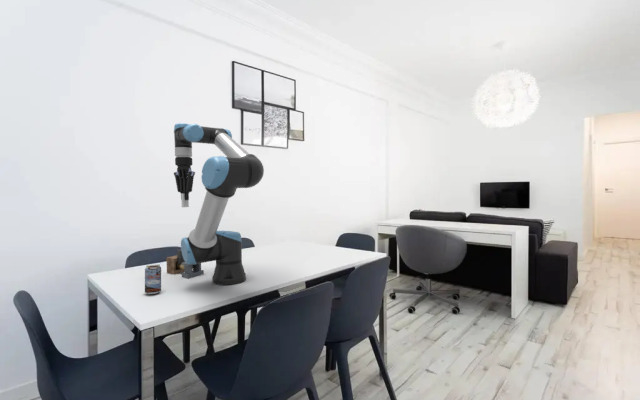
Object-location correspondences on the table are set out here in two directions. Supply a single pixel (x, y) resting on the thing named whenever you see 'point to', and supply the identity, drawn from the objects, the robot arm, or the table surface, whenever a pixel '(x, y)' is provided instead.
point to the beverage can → (152, 279)
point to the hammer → (180, 260)
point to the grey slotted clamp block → (192, 270)
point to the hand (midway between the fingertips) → (185, 207)
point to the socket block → (173, 265)
